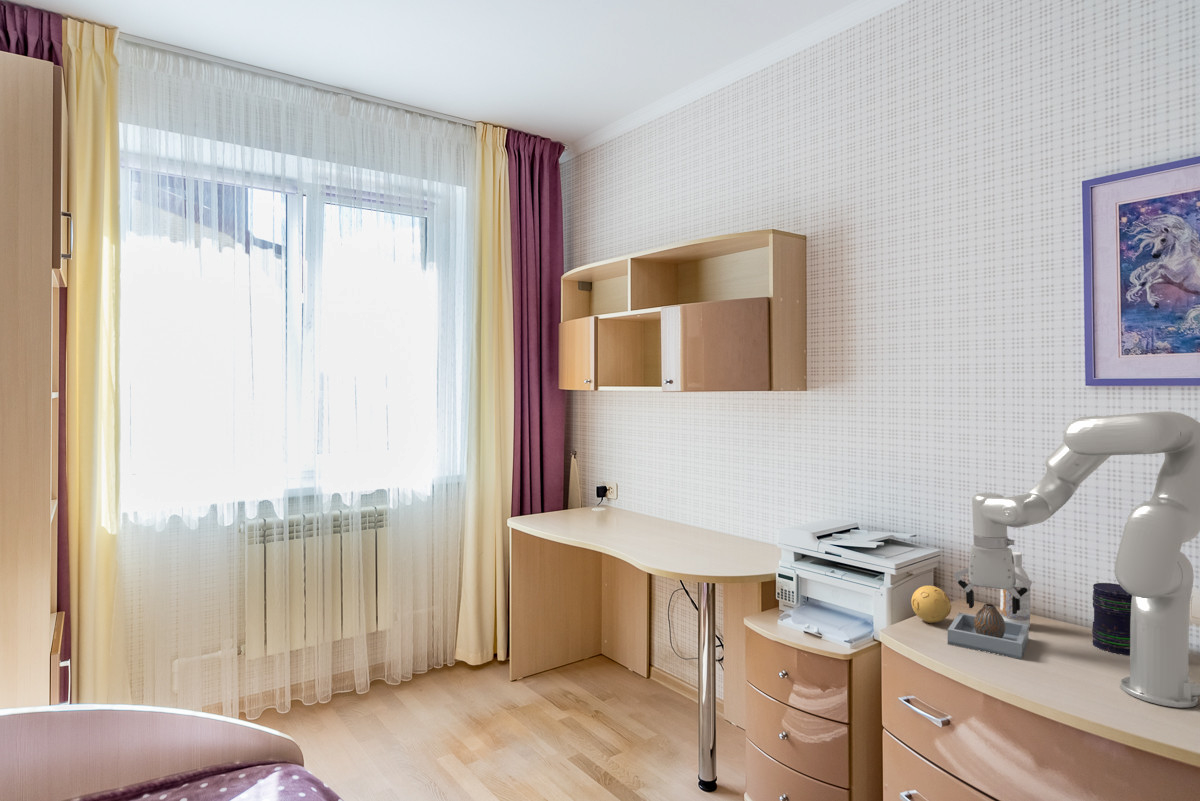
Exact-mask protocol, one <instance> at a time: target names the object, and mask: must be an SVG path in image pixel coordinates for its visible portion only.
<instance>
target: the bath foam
mask: <svg viewBox="0 0 1200 801" xmlns="http://www.w3.org/2000/svg"><path fill="white" fill-rule="evenodd" d="M1012 553H1013V557H1014V564H1015V572H1016V573H1018V574H1020V575H1022V576H1024V577H1026V578H1027V579H1029V580H1030V578H1029V575H1028V573H1027V572H1026V571H1025V569H1024V568H1023V566H1022V565H1023V554H1022V553H1021V552H1019V551H1012ZM1014 586H1015V587H1016V588H1017V589H1018V590H1020V589H1021V588H1022V587H1023V586H1024V583H1023V582H1021V581H1019V580H1017V579H1016V584H1015V585H1014ZM999 591H1000V593H999V594H1000V597H999V598H1000V604H999V608H1000V609H999V610H1000V611H999V613H1000V614H1001V616H1002V617H1003V619H1004V621H1009V622H1014V623H1020V624H1025V625H1029V628H1030V627H1031V587H1030V588H1029V589H1028V591H1027V592H1026V593H1025V594H1024V595H1022V596H1021V597H1020V611H1019V610H1017V613H1016V614H1013V610H1012V598H1013V595H1012V593H1011V592H1010V591H1009V590H1005V589H999Z"/></svg>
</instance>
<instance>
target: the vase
mask: <svg viewBox="0 0 1200 801" xmlns="http://www.w3.org/2000/svg"><path fill="white" fill-rule="evenodd" d="M974 628H975V631H976V633H977V634H982V635H987V636H992V637H997V638H1002V637H1003V636H1004V633H1005V622H1004V619H1003V617H1002V616H1001V614H1000V611H999V610H998V609H997V608H996V605H994V604H991V603H984V604H983V607H982V608H981V609H979V611H978V612H976V614H975V619H974Z"/></svg>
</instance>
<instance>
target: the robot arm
mask: <svg viewBox="0 0 1200 801" xmlns="http://www.w3.org/2000/svg"><path fill="white" fill-rule="evenodd" d="M1062 438H1063V442H1062V443H1061V444H1060V445H1059V446H1058V447H1057V448H1055V450H1054V451H1053V452H1052V453H1051V454H1050V455H1049V456H1048V457H1046V459H1045V461H1044V463H1045V466H1046V472H1045V475H1044V476H1043V477H1042V478H1041V480H1039V482H1038V483H1037V484H1036V485H1035V486H1034V487H1033V488H1031V489H1030V490H1029V491H1028V492H1027V493H1025V494H1019V495H1014V496H1003V495H1002V494H999V493H989V492H988V493H987V492H982V493H976V494H974V495H973V497H972V499H971V500H972V501H971V502H972V504H971V506H972V529H973V530H972V531H973V544H972V545H970V551H969V557H968V566H967V567H966V568H963V569H960V570H957V571H955V572H953V577H954V579H955V580H956V582H957V585H959V586H960V587H961V588H962V589H963V591H964V592H965V597H966V598H965V600H966V604H968V608H969V609H973V607H974V606H975V595H974V594H975V592H974V590H973V588H974V587H979V588H989V589H995V590H996V589H998V590H1000V589H1005V590H1009V591H1010V592H1011V593H1012V595H1013V598H1012V610H1013V614H1016V613H1017V610H1019V611H1020V597H1021V596H1022V595H1024V594H1025V593H1026V592H1027V591H1028V589H1029V588H1030V589H1031V586H1032V585H1033V581H1032V580H1031V579H1030V578H1029V579H1027V578H1026V577H1024V576H1022V575H1020V574H1018V573H1016V572H1015V564H1014V557H1013V553H1012V552H1013V549H1012V548H1010V547H1009V546H1015V539H1011V538H1009V536H1008V527H1009V528H1015V529H1016V528H1019V529H1020V528H1024V527H1029V526H1034V525H1037V524H1042V523H1044V522H1045V521H1047V520H1048V519H1050V518H1051V517H1053V515H1054V514H1055V513H1056V512H1058V511H1059V510H1060V509H1061V508H1062V507H1063V506H1064V505H1066V503H1067V502H1068V501H1069V500H1071V498H1072V497H1073V495H1074V494H1075V493H1076V491H1077V490H1078V489H1079V487H1080V486H1081V484H1082V483H1083V482H1084V481H1086V479H1087V478H1088V477H1090V475H1091V474H1092V473H1094V472H1095V471H1096V470H1097V469H1098V468H1099V467H1101V465H1102V464H1104V463H1106V461H1107V460H1108V459H1110V457H1111V456H1126V455H1127V456H1129V455H1132V456H1134V455H1136V456H1137V455H1156V454H1164V460H1163V462H1162V465H1161V467H1160V470H1159V472H1158V475H1157V478H1156V484H1155V487H1154V490H1153V494H1152V496H1151V498H1150V500H1148V501H1145V502H1142V503H1140V504H1138V505H1136V506H1135V507H1134V508H1133V509H1132V510H1131V511H1130V513H1129V515H1128V517H1127V519H1126V521H1125V524H1124V528H1123V531H1122V535H1121V539H1120V542H1119V545H1118V549H1117V553H1116V558H1115V561H1114V576H1115V579H1116V581H1117V584H1119V585H1120V586H1121V587H1122V588H1123V589H1124V590H1125V591H1126V592H1128V593H1129V594H1131V595H1132V600H1131V622H1130V656H1129V676H1127V677H1124V678H1121V680H1120V687H1121V689H1122V690H1123V691H1124V692H1125V693H1127V694H1129V695H1131V696H1132V697H1134V698H1137V699H1139V700H1142V701H1145V702H1149V703H1152V704H1155V705H1160V706H1164V707H1170V708H1179V709H1180V708H1181V709H1184V708H1187V709H1188V708H1192V707H1195V706H1197V705H1198V704H1199V697H1200V684H1199V683H1195V682H1194V681H1192V680H1191V678H1190V674H1189V652H1190V649H1189V648H1190V645H1189V644H1190V613H1191V612H1190V610H1191V600H1192V599H1191V598H1192V593H1193V587H1194V579H1195V578H1194V576H1195V574H1194V573H1195V572H1194V569H1193V565H1192V563H1191V562H1190V559H1189V558H1188V556H1186V555H1185V554H1184V552H1182V551H1181V550H1182V546H1183V544H1185V543H1187V542H1190V541H1192V540H1194V539H1195V538H1196V537H1198V535H1199V533H1200V422H1199V421H1198V420H1196V419H1195V418H1193V417H1191V416H1189V415H1187V414H1184V413H1181V412H1177V411H1166V410H1164V411H1153V412H1138V413H1129V414H1128V413H1127V414H1116V415H1115V414H1114V415H1104V416H1103V415H1094V416H1092V415H1091V416H1082V417H1078V418H1075V419H1073V420H1072V421H1071V422H1070V423H1068V424H1067V426H1066V427H1065V429H1064V431H1063V437H1062ZM964 575H968V583H967V582H966V581H965V580H964V579H963V577H962V576H964ZM1016 579H1017V580H1019V581H1021V582H1023V583H1024V586H1023V587H1022V588H1021V589H1020V590H1018V589H1017V588H1016V587H1015V586H1014V585H1015V584H1016Z"/></svg>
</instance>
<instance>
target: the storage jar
mask: <svg viewBox="0 0 1200 801" xmlns="http://www.w3.org/2000/svg"><path fill="white" fill-rule="evenodd" d="M1092 589H1093V591H1092V607H1093V622H1092V629H1091V634H1092V643H1093V644H1092V646H1094V647H1095V648H1096V647H1097V648H1096V649H1098V648H1099V649H1098V650H1101V651H1103V650H1104V652H1106V651H1108V652H1107V653H1110V652H1111V653H1110V654H1114V653H1116V654H1115V655H1120V654H1122V655H1121V656H1129V655H1130V622H1131V600H1132V595H1131V594H1129V593H1128V592H1126V591H1125V590H1124V589H1123V588H1122V587H1121V586H1120V585H1119V583H1112V582H1111V583H1110V582H1096V583H1094V584H1093V585H1092Z"/></svg>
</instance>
